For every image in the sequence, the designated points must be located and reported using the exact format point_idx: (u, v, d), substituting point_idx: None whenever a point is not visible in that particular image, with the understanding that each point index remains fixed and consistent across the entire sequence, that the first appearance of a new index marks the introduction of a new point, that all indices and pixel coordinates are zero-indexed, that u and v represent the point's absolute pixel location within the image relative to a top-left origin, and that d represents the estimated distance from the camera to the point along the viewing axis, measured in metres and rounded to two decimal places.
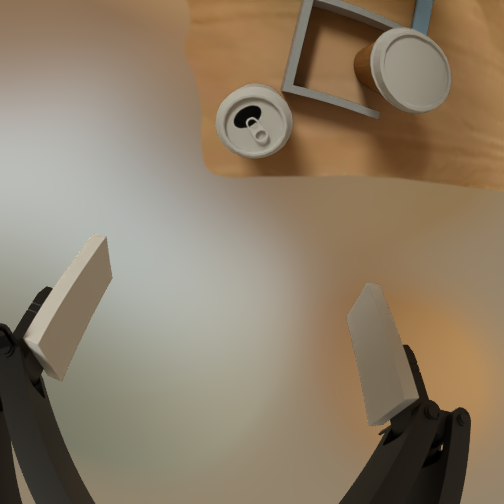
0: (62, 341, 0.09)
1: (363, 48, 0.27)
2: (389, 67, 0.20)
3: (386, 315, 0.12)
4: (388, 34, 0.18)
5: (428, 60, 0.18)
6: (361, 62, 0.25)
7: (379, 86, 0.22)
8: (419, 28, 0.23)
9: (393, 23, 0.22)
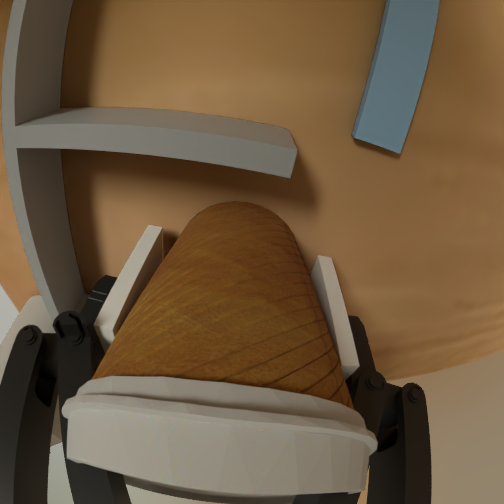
0: None
1: (197, 214, 0.14)
2: None
3: (333, 285, 0.13)
4: (71, 423, 0.05)
5: None
6: None
7: None
8: (387, 111, 0.10)
9: (253, 149, 0.09)
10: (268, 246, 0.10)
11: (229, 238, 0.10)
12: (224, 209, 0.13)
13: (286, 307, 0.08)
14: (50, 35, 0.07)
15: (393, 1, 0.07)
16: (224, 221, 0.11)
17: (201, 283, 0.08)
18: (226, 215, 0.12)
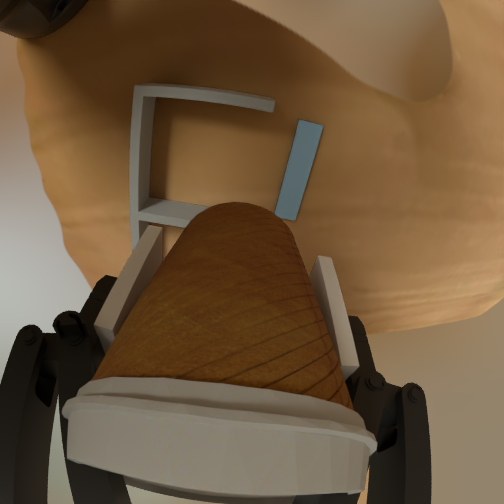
0: None
1: (197, 215, 0.14)
2: None
3: (333, 285, 0.13)
4: (72, 424, 0.05)
5: None
6: None
7: None
8: (287, 205, 0.30)
9: None
10: (268, 247, 0.10)
11: (229, 238, 0.10)
12: (224, 209, 0.13)
13: (286, 308, 0.08)
14: (146, 168, 0.27)
15: (291, 157, 0.27)
16: (224, 222, 0.11)
17: (201, 284, 0.08)
18: (226, 216, 0.12)
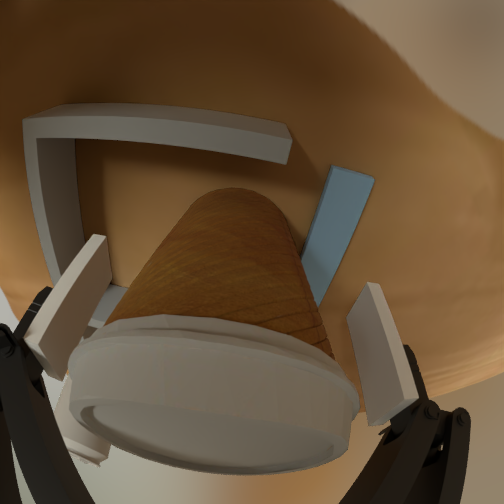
0: (62, 341, 0.09)
1: (197, 200, 0.15)
2: (121, 433, 0.08)
3: (386, 315, 0.12)
4: (77, 369, 0.06)
5: (250, 436, 0.06)
6: None
7: None
8: None
9: None
10: (260, 223, 0.12)
11: (225, 215, 0.11)
12: (222, 193, 0.14)
13: (273, 270, 0.09)
14: (75, 248, 0.16)
15: (313, 234, 0.16)
16: (222, 203, 0.13)
17: (200, 249, 0.09)
18: (224, 199, 0.13)
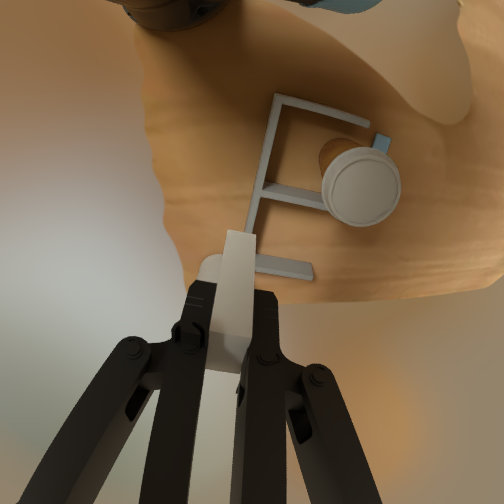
0: None
1: (329, 141, 0.36)
2: (337, 193, 0.29)
3: (247, 259, 0.13)
4: (341, 159, 0.27)
5: (379, 179, 0.27)
6: (321, 168, 0.34)
7: (328, 207, 0.31)
8: None
9: None
10: None
11: (350, 142, 0.33)
12: (341, 139, 0.35)
13: None
14: None
15: None
16: (345, 140, 0.34)
17: (353, 145, 0.30)
18: (343, 140, 0.35)
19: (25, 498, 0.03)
